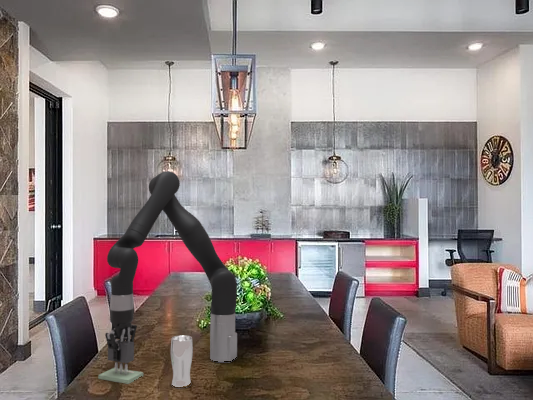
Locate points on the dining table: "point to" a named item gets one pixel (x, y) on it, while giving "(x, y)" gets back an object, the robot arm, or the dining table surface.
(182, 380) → the beer glass
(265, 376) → the dining table surface
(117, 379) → the header board
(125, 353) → the block
